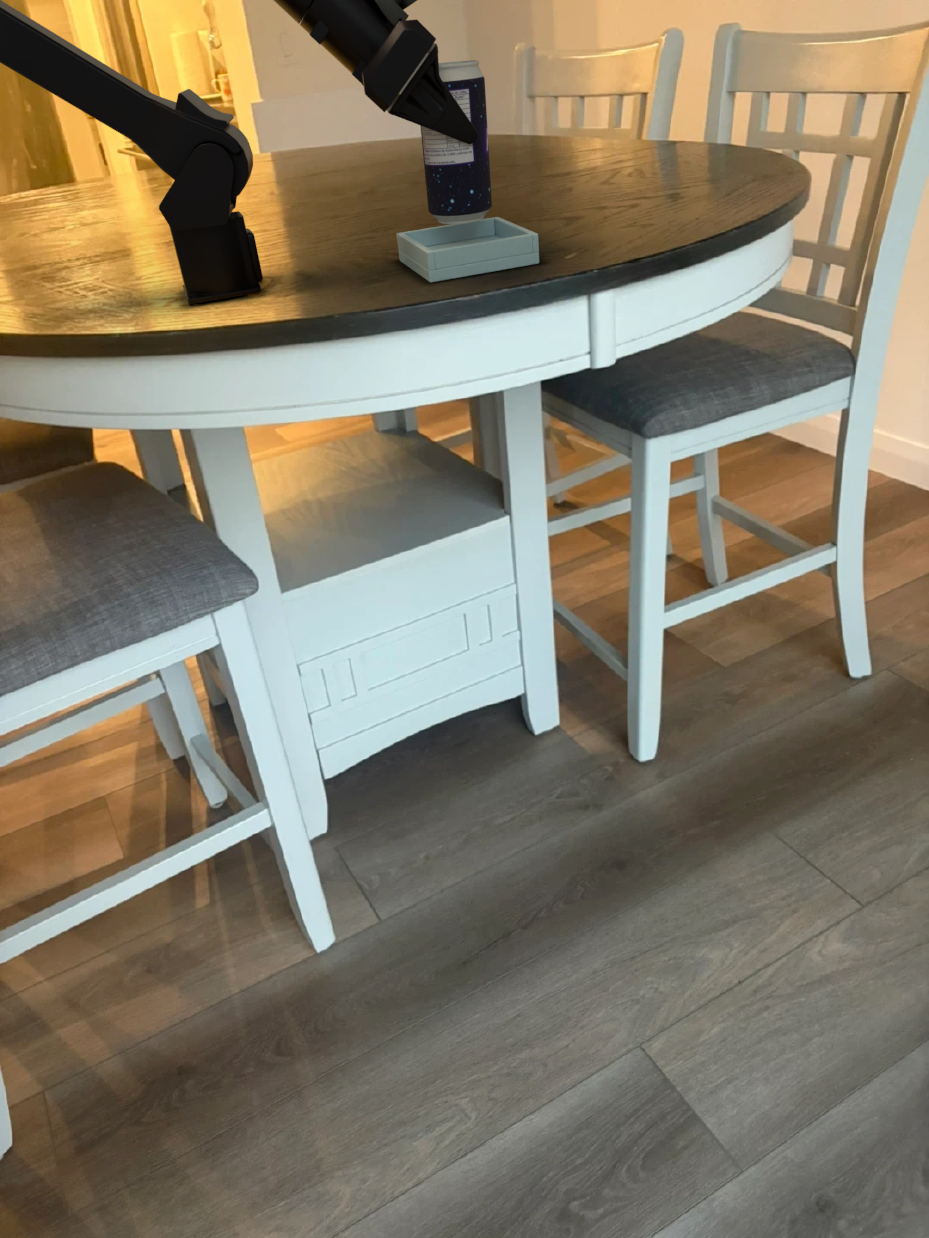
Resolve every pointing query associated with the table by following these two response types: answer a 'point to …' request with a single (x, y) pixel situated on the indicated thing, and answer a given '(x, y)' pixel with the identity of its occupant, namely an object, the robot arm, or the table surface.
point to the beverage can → (459, 152)
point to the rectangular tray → (467, 249)
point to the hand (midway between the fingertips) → (470, 136)
